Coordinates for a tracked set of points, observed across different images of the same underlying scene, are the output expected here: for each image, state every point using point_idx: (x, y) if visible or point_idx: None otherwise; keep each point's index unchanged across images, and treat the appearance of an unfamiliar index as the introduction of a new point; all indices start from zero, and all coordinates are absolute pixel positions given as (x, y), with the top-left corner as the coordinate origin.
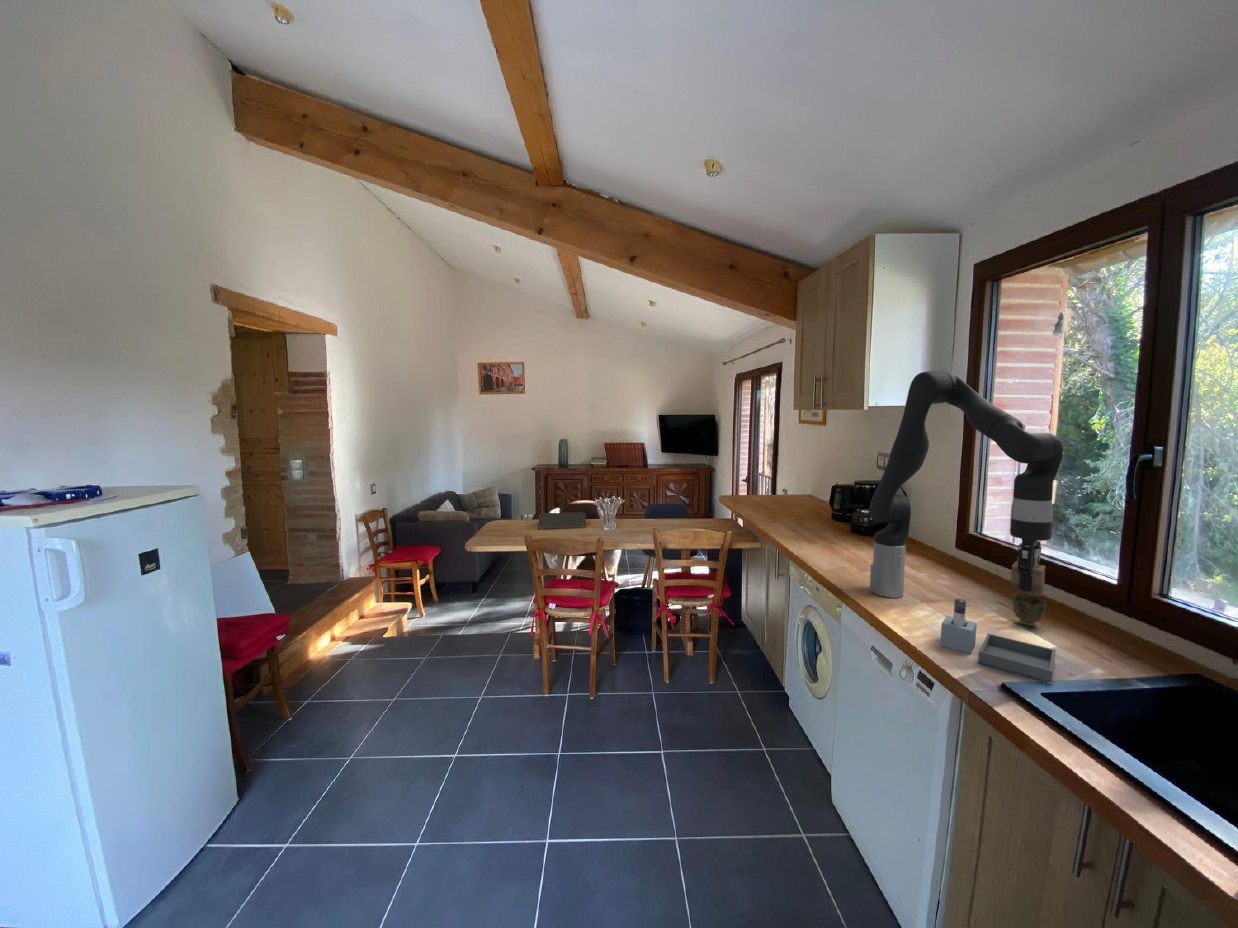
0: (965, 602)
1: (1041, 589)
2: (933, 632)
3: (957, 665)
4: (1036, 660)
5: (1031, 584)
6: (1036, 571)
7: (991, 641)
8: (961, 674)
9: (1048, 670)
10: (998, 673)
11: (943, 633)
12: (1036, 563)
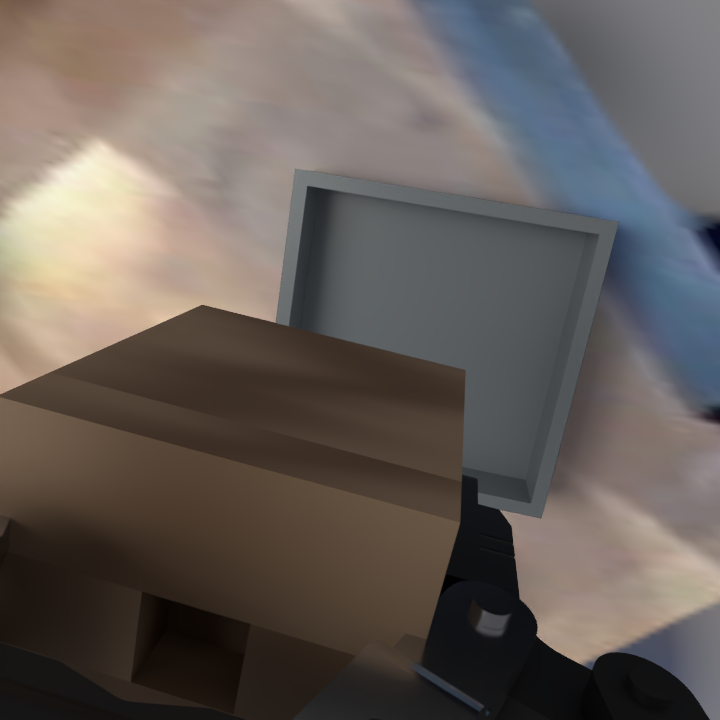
0: None
1: (417, 379)
2: None
3: (606, 569)
4: (370, 253)
5: (476, 515)
6: (436, 579)
7: None
8: (699, 562)
9: (613, 239)
10: (602, 421)
11: None
12: (438, 715)
